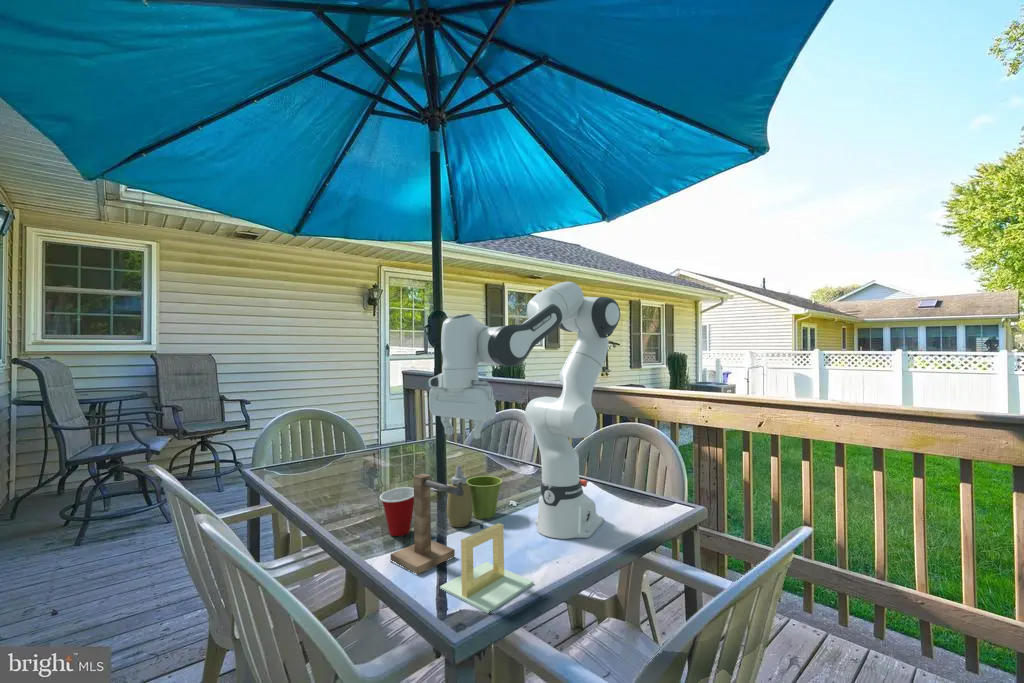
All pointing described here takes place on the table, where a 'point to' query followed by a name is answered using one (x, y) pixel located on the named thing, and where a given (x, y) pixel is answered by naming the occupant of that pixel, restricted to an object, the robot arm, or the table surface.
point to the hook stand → (425, 529)
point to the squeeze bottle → (459, 502)
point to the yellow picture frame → (467, 559)
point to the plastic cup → (398, 509)
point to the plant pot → (484, 495)
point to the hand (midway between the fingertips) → (462, 436)
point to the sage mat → (489, 588)
